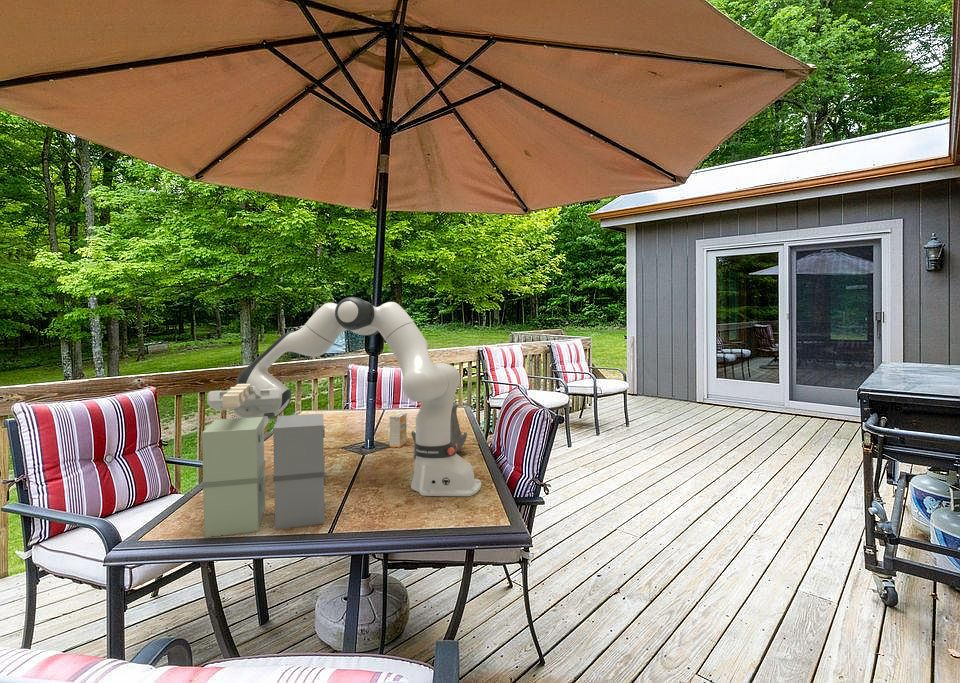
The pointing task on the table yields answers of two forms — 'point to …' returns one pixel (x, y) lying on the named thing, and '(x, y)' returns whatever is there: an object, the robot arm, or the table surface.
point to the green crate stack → (233, 476)
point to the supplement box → (398, 430)
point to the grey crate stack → (299, 470)
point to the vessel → (452, 430)
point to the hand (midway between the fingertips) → (242, 389)
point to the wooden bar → (236, 396)
